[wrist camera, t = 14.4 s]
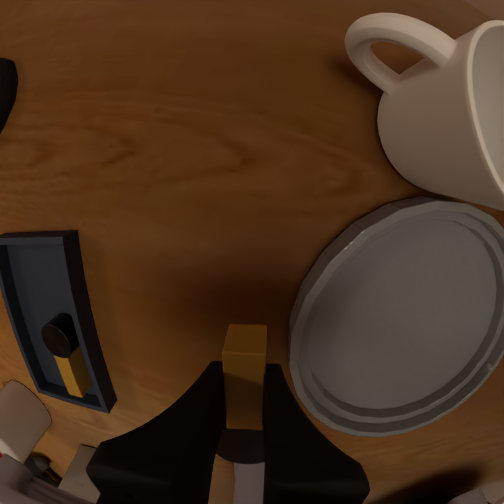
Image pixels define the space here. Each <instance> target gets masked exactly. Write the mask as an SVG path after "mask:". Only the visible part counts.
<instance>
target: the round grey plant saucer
mask: <svg viewBox="0 0 504 504" xmlns="http://www.w3.org/2000/svg"><path fill="white" fill-rule="evenodd" d="M503 355H504V229H503V228H502V226H501V225H500V224H499V223H498V222H497V221H496V220H495V218H494V217H492V216H491V215H489V214H487V213H485V212H483V211H482V210H480V209H478V208H476V207H474V206H472V205H470V204H468V203H464V202H460V201H456V200H452V199H446V198H436V197H426V196H418V197H414V198H410V199H406V200H401V201H397V202H393V203H388V204H387V205H384V206H382V207H381V208H379V209H377V210H375V211H373V212H372V213H370V214H368V215H366V216H364V217H363V218H361V219H359V220H357V221H355V222H354V224H351V225H350V226H349V227H348V228H347V229H346V230H345V231H344V232H343V233H342V234H341V235H340V236H339V237H338V238H336V239H335V240H334V241H333V242H332V243H331V244H330V245H329V246H328V247H327V248H326V249H325V250H324V251H323V252H322V253H321V255H320V256H319V258H318V259H317V261H316V263H315V264H314V266H313V267H312V269H311V270H310V272H309V273H308V275H307V276H306V278H305V279H304V281H303V282H302V284H301V287H300V289H299V292H298V295H297V298H296V301H295V304H294V307H293V309H292V312H291V315H290V319H289V336H288V359H289V369H290V373H291V377H292V380H293V384H294V388H295V391H296V394H297V396H298V397H299V399H300V400H301V401H302V403H303V404H304V406H305V407H306V408H307V410H308V411H309V412H310V414H311V415H312V416H314V417H315V418H317V419H318V420H319V421H321V422H322V423H324V424H325V425H327V426H328V427H330V428H332V429H334V430H337V431H341V432H344V433H347V434H350V435H354V436H367V437H384V436H390V435H396V434H402V433H406V432H410V431H412V430H415V429H418V428H420V427H423V426H426V425H428V424H431V423H433V422H434V421H436V420H438V419H440V418H441V417H443V416H445V415H446V414H448V413H450V412H451V411H453V410H455V409H456V408H457V407H459V406H460V405H461V404H462V403H463V402H465V401H466V400H467V399H468V398H469V397H470V396H471V395H473V394H474V393H475V392H476V391H477V390H478V389H479V388H480V387H481V386H482V384H483V383H484V382H485V381H486V380H487V378H488V377H489V376H490V375H491V374H492V372H493V371H494V370H495V368H496V367H497V365H498V364H499V362H500V360H501V359H502V357H503Z"/></svg>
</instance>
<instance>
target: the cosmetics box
mask: <svg viewBox="0 0 504 504" xmlns="http://www.w3.org/2000/svg"><path fill="white" fill-rule="evenodd" d="M95 450H96V449H95V448H91V447H87V446H83V445H80V447H79V449H78V451H77V453H76V455H75V457H74V459H73V460H72V462H71V464H70V466H69V468H68V470H67V472H66V474H65V476H64V477H63V479H62V481H61V483H60V485H59V487H58V488H59V489H61V490H63V491H65V492H68V493H70V494H72V495H74V496H77V497H79V498H82V499H84V500H87V501H89V502H92V503H94V504H96V502H97V500H98V498H99V496H100V492H99V491H98V490H97V488H96V487H95V485H94V484H93V483H92V481H91V480H90V479H89V477H88V475H87V473H86V467H87V465H88V463H89V461H90V459H91V457H92V455H93V454H94V452H95Z"/></svg>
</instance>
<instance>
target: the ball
mask: <svg viewBox="0 0 504 504" xmlns="http://www.w3.org/2000/svg"><path fill="white" fill-rule="evenodd" d="M457 496H459V495H448V496H440V497H434V498H431V499H427V500H423V501H419V502H416V503H414V504H448V503H449V502H450V501H451V500H452V499H453V498H455V497H457ZM487 503H488V504H491V503H489V502H488V501H487Z"/></svg>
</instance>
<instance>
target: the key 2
mask: <svg viewBox="0 0 504 504" xmlns="http://www.w3.org/2000/svg"><path fill="white" fill-rule="evenodd" d="M266 344H267V326H266V325H248V324H229V327H228V331H227V335H226V339H225V343H224V347H223V351H222V362H223V378H224V394H225V409H226V417H225V421H224V425H223V429H222V433H221V436H220V440H219V444H218V447H217V451H216V453H217V454H218V455H219V456H220V457H222V458H223V459H225V460H228V461H230V462H234V463H238V464H259V463H263V462H265V457H264V442H263V426H262V407H263V380H264V374H265V370H266Z"/></svg>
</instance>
